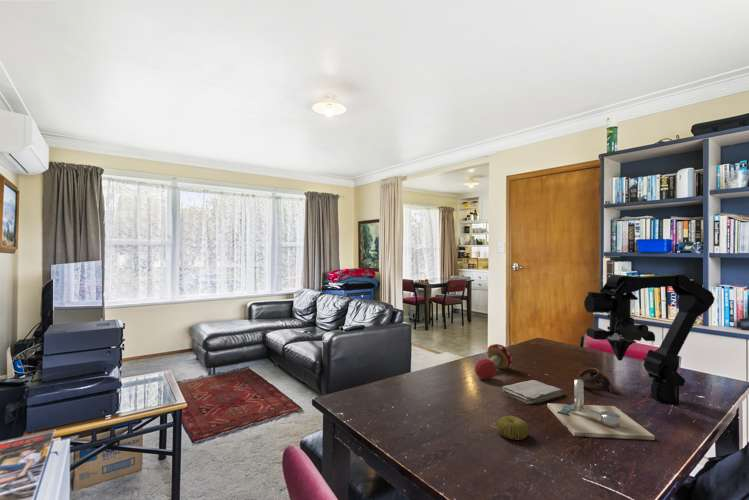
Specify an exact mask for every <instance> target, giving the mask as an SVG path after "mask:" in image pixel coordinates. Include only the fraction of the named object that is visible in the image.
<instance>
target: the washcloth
mask: <svg viewBox="0 0 749 500" xmlns="http://www.w3.org/2000/svg"><path fill="white" fill-rule="evenodd" d="M501 389H502V390H501V393H502V394H504V395H505V396H507V397H510V398H512V399H515V400H517V401H519V402H520V403H523V404H524V405H525V404H526V405H529V404H530V405H531V404H537V403H541V402H544V401H548V400H552V399H554V398H559V397H562V396H563V395H564V390H563V389H562V388H559V387H556V386H553V385H549V384H546V383H544V382H541V381H538V380H536V379H531V380H527V381H521V382H517V383H513V384H509V385H503V386H502V387H501Z"/></svg>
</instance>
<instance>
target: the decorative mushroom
mask: <svg viewBox="0 0 749 500" xmlns="http://www.w3.org/2000/svg"><path fill="white" fill-rule="evenodd" d="M486 351H487V357H488V358H487V359H489V360H491V361H493V363H494V364H495V366H496V368H498V369H501V370H508V369H509V368H511V367H512V365H513V357H512V354H511V352H510V350H509V349H508V348H507V347H506V346H504V345H502V344H498V343H494V344H490V345H489V346H488V347H487V350H486Z"/></svg>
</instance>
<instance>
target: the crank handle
mask: <svg viewBox="0 0 749 500" xmlns="http://www.w3.org/2000/svg"><path fill="white" fill-rule="evenodd" d="M573 383H574V384H573V385H574V386H573V403H572V402H570V401H566V402H565V404H566V408H569V409H572V410H575V411H579V412H582V413H585V414H588V415H591V416H594V417H597V418H601V423H602V424H604V425H606V426H609V427H614V428H617V427H620V416H619V415H617V414H615V413H612V412H607V411H603V412H601V413H600V412H597V411H594V410H590V409H587V408H584V405H585V404H584V399H585V397H584V395H585V394H584V393H585V392H584V390H585V386H584V381H583V380H580V379H579V378H574V380H573Z"/></svg>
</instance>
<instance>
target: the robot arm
mask: <svg viewBox="0 0 749 500" xmlns="http://www.w3.org/2000/svg"><path fill="white" fill-rule="evenodd" d="M669 287H671V289H672V291H673V292H674V293H675V294H676V296H678V299H677V306H678V311H677V313H676V316H675V317H674V319H673V321H672V323H671V324H670V327H669V329H668V330H667V333H666V334H665V337H664V338H663V340H662V342H661V344H660V345H659V347H658V348H657V349H655V350H652V349H649V350H648V351H647V354H646V356H644V358H643V359H642V360H643V361H644V362H643V367H644V370H646V373H647V375H648V377H649V378H652V379H651V380H652V381H651V382H652V383H651V384H650V394H648V395H649V397H650V398H652V399H654V400H655V401H657V402H658V403H660V404H664V405H665V404H666V405H684V402H682V401H681V400H680V387H684V385H685V382H686V379H685V378H684V377H683V376H682V375H681V374H680V373H679V372H678V369H679V367H680V365H679V358H678V355H679V353H680V352H681V350H682V347H683V346H684V344H685V342H686V339H687V338H688V335H689V334H690V333H691V331H692V328H693V326H694V325H695V322H696V321H697V318H699V317H701V315H703V314H705V313H706V312H708V311H709V309H710V308H711V306H712V305H713V304H714V302H715V298H716V297H715V296H714V293H713V292H712V291H710V289H706V288H705V287H704V286H703V285H701V284H698V283H697V282H695V281H693V280H692V279H691V278H689V277H688V276H686V275H685V274H681V273H669V274H661V275H660V274H658V275H657V274H655V275H644V276H643V275H642V276H641V275H640V276H634V275H633V276H632V275H623V274H611V275H609V277H608V278H607V280H606V282H605V284H604V285H603V286H602V288H601V289H600V290H599V292H594V291H588V292H587V295H586V297H585V299H584V302H583V304H584V305H583V306H584V308H585V311H586V312H588V313H589V314H590V313H599V314H601V313H603V314H604V313H605V314H606V313H607V318H609V326H606V327H607V328H606V329H607V330H605V329H602V328H600V327H588V328H586V334H585V335H586V337H589V338H592V339H593V340H607V342H608V343H609V345H610V347H611V349H612V351H613V353H614V356H615V357H616V359H617V361H619V362H620V361H621V362H622V361H623V359H624V357H625V355H626V352H627V350H628V348H629V347H630V346H631V345H632V344H636V343H637V342H638V341H639V342H641V341H642V339H643V340H644V341H645V342H656V335H655V333H654V332H653V331H651V330H649V326H648V325H647V324H643V323H642V324H635V323H634V317H633V316H631V315H632V314H631V311H632V309H631V308H632V307H631V304H632V301H638V299H639V298H638V297H637V296H636V295H634V294H633V293H634V292H638V291H640V290H642V289H653V288H655V289H656V288H669ZM608 313H609V314H608Z"/></svg>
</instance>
